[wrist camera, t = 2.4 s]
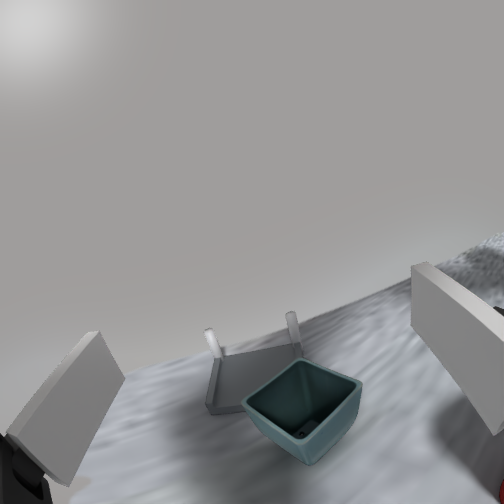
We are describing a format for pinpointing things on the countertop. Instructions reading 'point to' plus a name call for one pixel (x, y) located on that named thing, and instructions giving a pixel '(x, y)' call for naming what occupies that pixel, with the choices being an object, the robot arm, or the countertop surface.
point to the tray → (247, 369)
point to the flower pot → (305, 408)
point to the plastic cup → (502, 493)
